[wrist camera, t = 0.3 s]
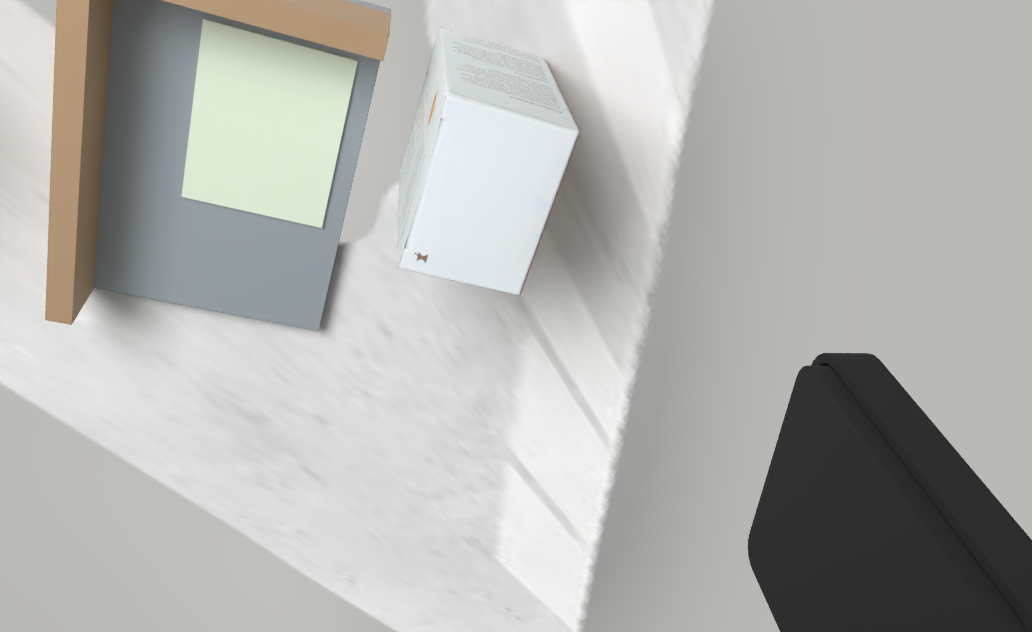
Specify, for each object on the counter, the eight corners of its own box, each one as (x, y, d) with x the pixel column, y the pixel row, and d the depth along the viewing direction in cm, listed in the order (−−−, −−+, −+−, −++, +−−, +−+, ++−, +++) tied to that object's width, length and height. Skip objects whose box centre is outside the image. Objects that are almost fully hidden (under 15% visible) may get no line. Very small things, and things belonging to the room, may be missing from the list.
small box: (499, 199, 46) (520, 302, 37) (397, 173, 45) (393, 273, 36) (548, 55, 42) (585, 131, 33) (438, 21, 41) (446, 92, 32)
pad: (203, 17, 39) (202, 18, 39) (357, 59, 40) (357, 61, 40) (182, 195, 43) (181, 196, 43) (322, 226, 45) (321, 228, 45)
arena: (94, -77, 37) (58, -60, 33) (391, 9, 40) (389, 33, 36) (74, 275, 46) (45, 319, 42) (319, 323, 49) (312, 368, 45)
